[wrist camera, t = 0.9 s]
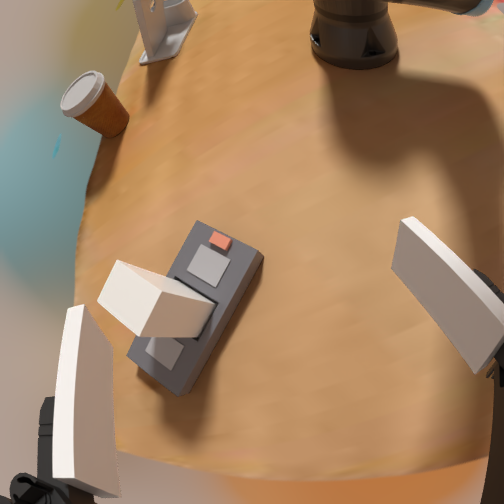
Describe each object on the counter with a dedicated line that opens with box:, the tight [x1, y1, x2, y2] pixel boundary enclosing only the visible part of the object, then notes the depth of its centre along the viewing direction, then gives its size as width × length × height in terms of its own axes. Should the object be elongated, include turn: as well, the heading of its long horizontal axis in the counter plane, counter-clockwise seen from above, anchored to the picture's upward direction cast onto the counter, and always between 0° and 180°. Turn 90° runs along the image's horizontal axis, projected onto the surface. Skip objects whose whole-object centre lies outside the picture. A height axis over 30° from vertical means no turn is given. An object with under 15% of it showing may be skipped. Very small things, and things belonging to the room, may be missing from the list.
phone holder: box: [133, 0, 198, 65], centre depth 49 cm, size 17×10×18 cm, turn 169°
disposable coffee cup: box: [60, 71, 129, 138], centre depth 48 cm, size 10×10×12 cm
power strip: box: [127, 220, 264, 397], centre depth 38 cm, size 20×9×4 cm, turn 150°
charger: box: [97, 260, 218, 337], centre depth 33 cm, size 4×6×13 cm
